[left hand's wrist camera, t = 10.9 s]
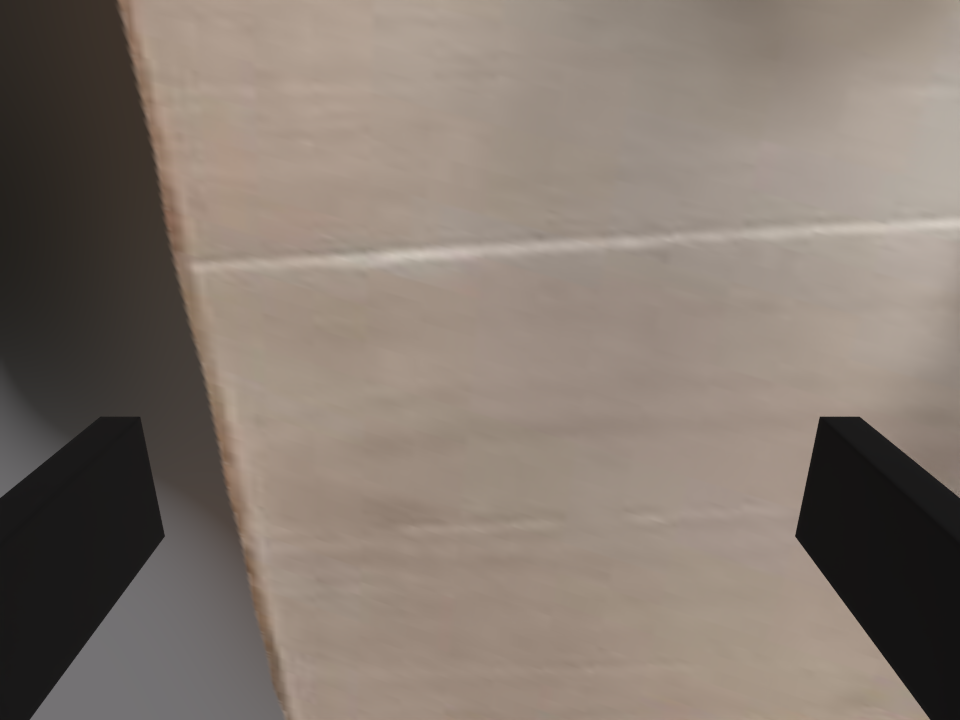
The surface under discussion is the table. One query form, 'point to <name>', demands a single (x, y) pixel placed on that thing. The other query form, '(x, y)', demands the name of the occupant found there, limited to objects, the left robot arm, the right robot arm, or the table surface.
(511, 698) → the table surface
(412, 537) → the table surface
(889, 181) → the table surface
